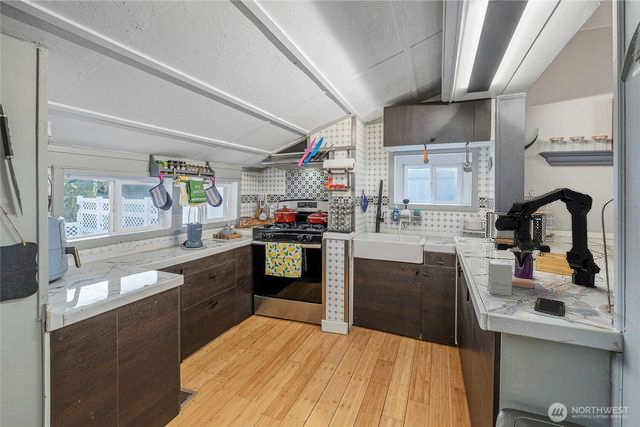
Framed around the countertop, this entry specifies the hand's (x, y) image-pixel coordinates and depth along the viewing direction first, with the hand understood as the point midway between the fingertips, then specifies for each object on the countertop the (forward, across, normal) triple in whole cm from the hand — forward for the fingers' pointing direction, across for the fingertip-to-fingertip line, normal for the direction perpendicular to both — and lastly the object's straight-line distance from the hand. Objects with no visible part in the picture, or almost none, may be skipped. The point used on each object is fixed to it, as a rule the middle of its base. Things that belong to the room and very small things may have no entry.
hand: (520, 267), depth 120 cm
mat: (+9, +2, 0) cm, 9 cm away
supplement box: (+9, -10, -12) cm, 18 cm away
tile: (+7, +4, 0) cm, 8 cm away
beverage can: (+9, +6, +16) cm, 19 cm away
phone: (+9, +3, -23) cm, 25 cm away
